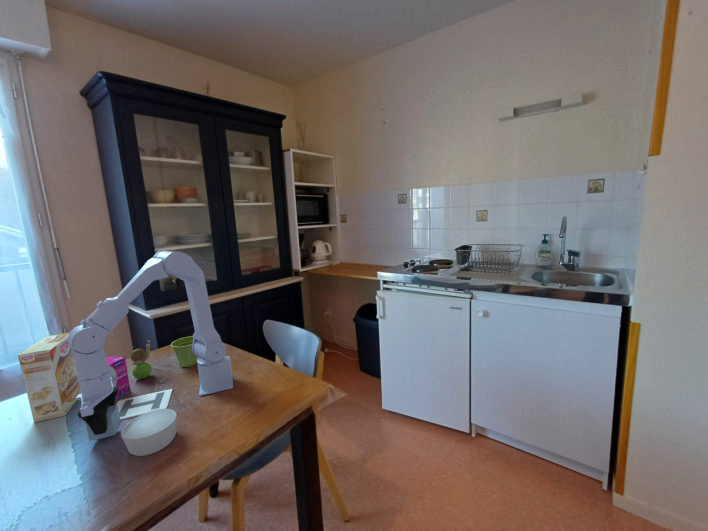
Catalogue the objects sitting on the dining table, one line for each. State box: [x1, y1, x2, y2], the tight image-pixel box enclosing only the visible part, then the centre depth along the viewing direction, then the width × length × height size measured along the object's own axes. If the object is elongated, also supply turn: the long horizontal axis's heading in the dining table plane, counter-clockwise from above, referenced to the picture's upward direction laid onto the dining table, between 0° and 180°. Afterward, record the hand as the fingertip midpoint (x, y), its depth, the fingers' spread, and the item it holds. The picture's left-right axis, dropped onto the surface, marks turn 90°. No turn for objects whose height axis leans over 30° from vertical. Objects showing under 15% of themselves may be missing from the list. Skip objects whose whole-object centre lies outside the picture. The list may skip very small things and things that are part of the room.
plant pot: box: [170, 335, 198, 368], centre depth 116 cm, size 9×9×9 cm
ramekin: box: [120, 408, 178, 457], centre depth 76 cm, size 11×11×5 cm
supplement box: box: [106, 355, 132, 401], centre depth 97 cm, size 6×6×12 cm
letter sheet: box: [115, 388, 173, 421], centre depth 92 cm, size 14×11×1 cm
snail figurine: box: [130, 340, 153, 380], centre depth 107 cm, size 5×6×12 cm
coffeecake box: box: [17, 332, 81, 423], centre depth 92 cm, size 15×7×20 cm, turn 23°
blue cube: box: [84, 404, 122, 442], centre depth 78 cm, size 5×5×5 cm
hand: (104, 426), depth 78 cm, fingers closed on blue cube, 5 cm apart
